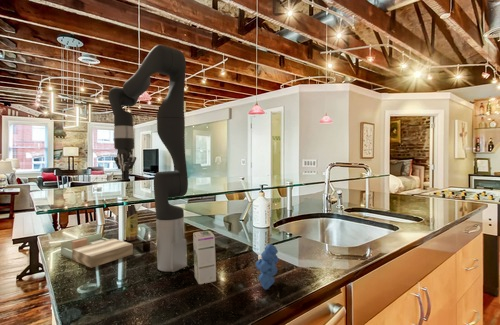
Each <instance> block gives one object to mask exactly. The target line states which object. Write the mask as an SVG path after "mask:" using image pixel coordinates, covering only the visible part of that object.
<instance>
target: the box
mask: <svg viewBox="0 0 500 325" xmlns="http://www.w3.org/2000/svg"><path fill="white" fill-rule="evenodd" d="M84 238H86V239H87V242H88V245H89V242H93V241H97V240H104V241H106V240H110V239H109V238H107V237H106V238H105V237H103V233H102V232H98V233H95V234H91V235H86V236H82V237H78V238H73V239H69V240H66V241H65V240H64V241H61V242H60V254H61V256H63V257H65V258H68V259H70V260H72V261H74V260H73V254H72V241H75V240H80V239H84Z"/></svg>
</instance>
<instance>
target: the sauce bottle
mask: <svg viewBox="0 0 500 325" xmlns="http://www.w3.org/2000/svg"><path fill="white" fill-rule="evenodd" d="M138 225H139V224H138V211H137V209H136V206H135V205H131V206H128V211H127V227H126V240H127V241H126V242H129V241H135V240H137V239H138V236H139V233H138V232H139V230H138Z"/></svg>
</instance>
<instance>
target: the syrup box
mask: <svg viewBox="0 0 500 325" xmlns="http://www.w3.org/2000/svg"><path fill="white" fill-rule="evenodd" d="M192 235H193V236H192V239H193V240H192V242H193V246H192V247H193V264H194V265H193V266H194V268H193V269H194V279H195V280H196V282H197V284H198V285H203V284H204V283H205V284H208V283H213V282H217V263H216V242H215V240H216V237H215V234H214V233H213V232H212V231H211V230H202V231H196V232H193V234H192Z"/></svg>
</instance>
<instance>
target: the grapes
mask: <svg viewBox="0 0 500 325" xmlns="http://www.w3.org/2000/svg"><path fill="white" fill-rule="evenodd" d="M278 253H279V251H278V249H277V247H276V246H275V245H273V244H272V243H269V244H267V245H266V246H265V247H264V251H263V252H262V253H261V254H260V256H261V258H259V259H258V260H257V261H256V262H255V264H254V265H255V268H256V270H258V271H260V274H259V275H258V281H259V282H260V285H261V287H262V289H263V290H268V289H270V288H271V286H272V285H274V284H275V282H276V280H275V278H274V276H275V275H276V274H277V273H278V272H279V271H278V268H277V267H278V266H277V263H278V262H279V261H280V260H279V257H278V256H277V254H278Z"/></svg>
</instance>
